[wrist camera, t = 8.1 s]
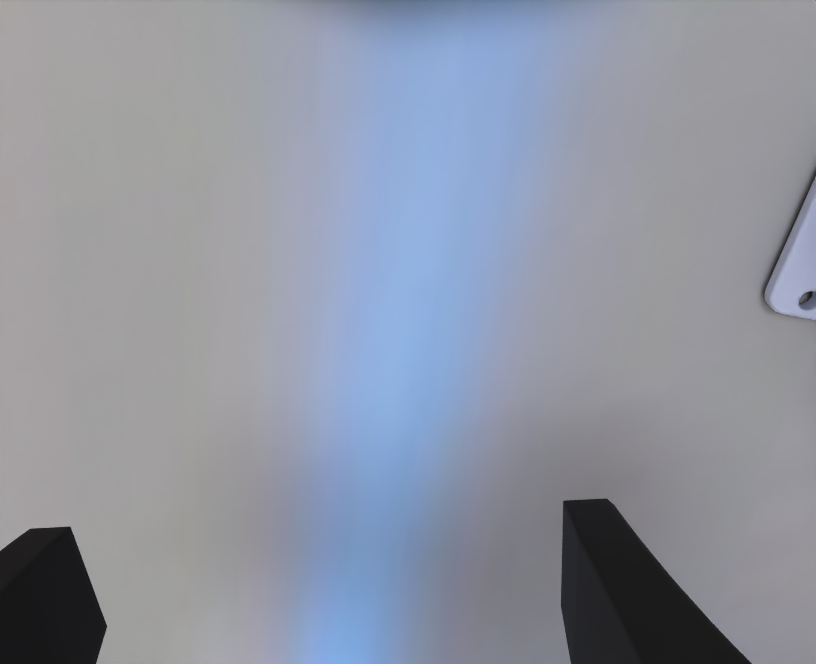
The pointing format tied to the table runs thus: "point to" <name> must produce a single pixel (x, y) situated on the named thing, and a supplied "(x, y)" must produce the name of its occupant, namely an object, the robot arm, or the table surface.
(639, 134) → the table surface
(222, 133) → the table surface
